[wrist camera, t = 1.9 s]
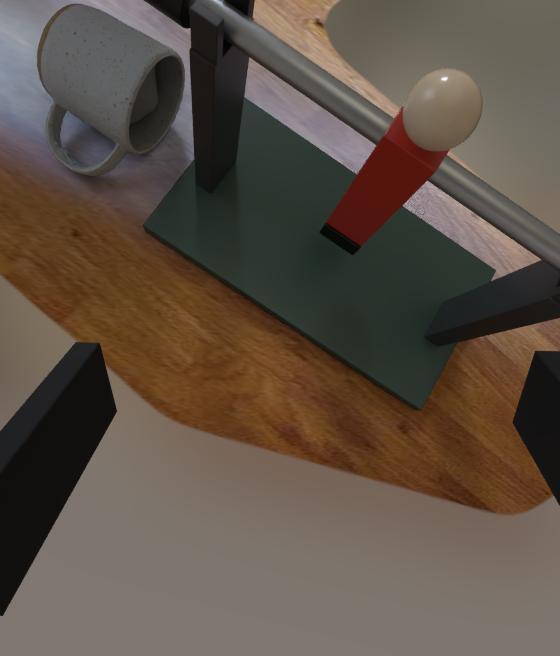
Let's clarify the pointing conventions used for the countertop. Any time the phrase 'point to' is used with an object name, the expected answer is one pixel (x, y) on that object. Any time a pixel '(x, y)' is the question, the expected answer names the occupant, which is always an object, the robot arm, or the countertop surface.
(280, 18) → the countertop surface
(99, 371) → the robot arm
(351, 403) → the countertop surface
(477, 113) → the foosball rod
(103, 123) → the ceramic mug
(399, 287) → the foosball frame
